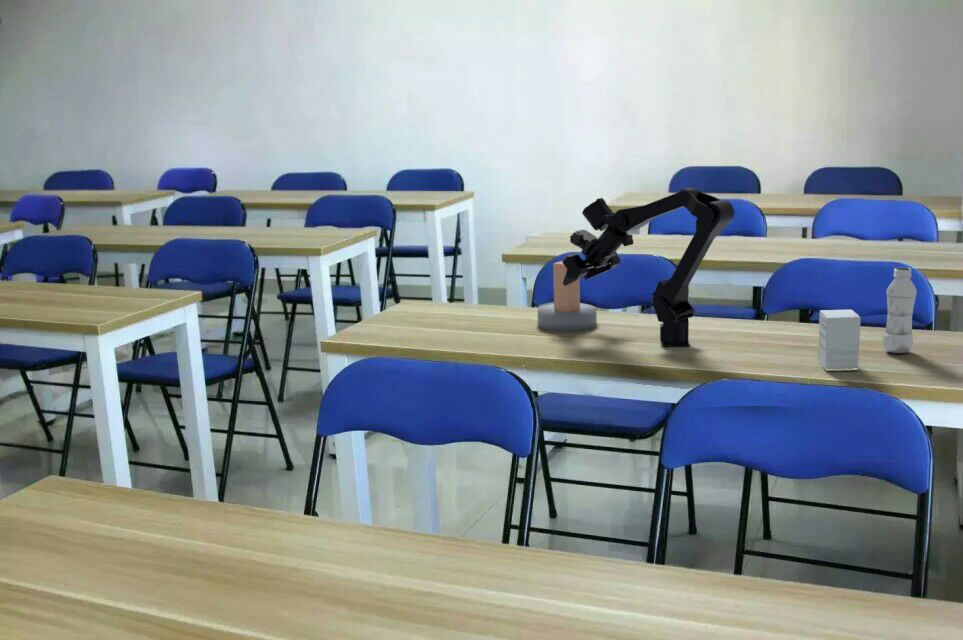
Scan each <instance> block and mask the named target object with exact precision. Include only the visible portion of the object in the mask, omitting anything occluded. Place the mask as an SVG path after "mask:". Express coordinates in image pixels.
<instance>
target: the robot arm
mask: <svg viewBox="0 0 963 640" xmlns="http://www.w3.org/2000/svg"><path fill="white" fill-rule="evenodd" d="M682 208H685V209H686V210H687V211H688V212H689V214H691V216H693V217H695V218H696V220H695V231H694V232H695V233H694V234H693V236H692V238H691V240H690V242H689V244H688V245H687V248H686V249H685V250H684V253H683V255H682V257H680V261H679V262H678V264H677V266H676V268H675V269H674V271H673V273H672V274H671V277H670V278H667V279H664V280H661V281H659V282H658V283H657V286H656V289H655V290H654V292H652V293H651V296H653V297H652V299H651V304H652V308H653V309H654V311H655V314H656V318H657V322H660V324H659V340H660V341H659V342H660V343H661V344H662V347H690V341H689V333H690V332H689V331H690V329H689V325H690V324H689V323H690V322H689V321H690V320H689V319H691V318H693V317H694V314H695V311H696V310H695V308H694V307H693V306H692V305H691V303H690V302H689V301H688V297H689V293H690V291H689V290H690V289H689V285H690V283H691V281H692V280H693V278H694V276H695V274H696V273H697V271H698V270H699V269H698V268H699V267H700V265H701V263H702V261H703V260H704V258H705V256H706V254H707V253H708V251H709V248H710V247H711V246H712V244H713V242H714V240H715V239H716V238H717V237H718V236H719V235H720V234H721V233H722V232H723V231H724V230H725V229H726V228H727V227H728V225H730V223H731V222H732V221H733V220H734V217H735V214H736V211H735V209H734V206H733V204H732V203H731V202H730V201H729V200H726V199H719V198H718V197H717V196H713V195H711V194H708V193H705V192H702V191H700V190H698V189H697V188H695V187H689V188H685V189H680V190H679V191H678V192H675V193H673V194H671V195H668V196H665V197H662V198H660V199H657V200H654V201H652V202H650V203H647V204H642V205H637V206H631V207H626V208H622V209H618V210H616V211H615V212H613V211H612V209H611V208H610V206H608V204H607V203H606V200H605V199H604V198H603V197H599V198H596V200H595V201H593V202H592V203H589V205H587V206H584V208H583V209H582V212H581V215H583V217H584V218H585V220H586V221H587V222H588V223H589V225H590V226H591V227H592V228H593V230H595V231H600V232H602V233H601V234H600V235H599V237H597V236H596V235H594V234H593V233H591V232H590V231H588V230H586V229H579V230H575V231H574V232H573V233H572V235H570V236H569V237H570V240H569V241H570V243H571V244H572V245H573V246H575V247H578V248H579V249H581V251H580V252H581V254H582V255H583V256H584V259H582V257H581V256H580V254H576V253H574V254H573V253H572V254H569V255H566V256H565V257H564V258H563V260H561V261H562V263H563V264H564V265H565V267H566V268H567V272H566V275H565V278H564V280H563V284H564V286H566V285H569V284H571V283H573V282H575V281H577V280H579V279H580V280H581V279H585V280H586V281H587V280H588V279H589V280H590V279H592V278H594V277H597V276H599V275H601V274H603V273H606V272H608V271H611V270H613V269H616V268H617V267H618V266H619V265H620V263H621V257H620V256H619V255H618V253H617V251H618V250H619V248H620V247H621V246H622V245H623V246H624V247H628V246H632V245H634V239H633V234H629V232H630V231H635V230H638V229H640V228H643V227H644V226H646V225H648V224H649V223H650V222H651V221H652V220H653V219H654V220H655V218H657V217H661V216H663V215H666V214H669V213H671V212H674V211H677V210H680V209H682Z"/></svg>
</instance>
